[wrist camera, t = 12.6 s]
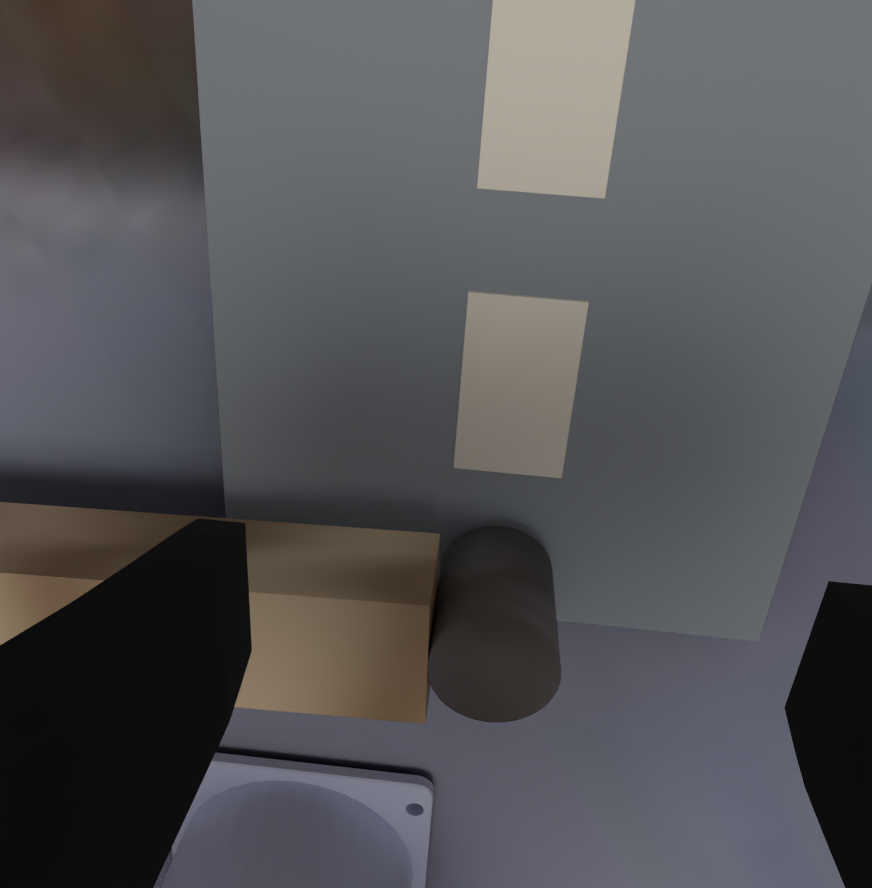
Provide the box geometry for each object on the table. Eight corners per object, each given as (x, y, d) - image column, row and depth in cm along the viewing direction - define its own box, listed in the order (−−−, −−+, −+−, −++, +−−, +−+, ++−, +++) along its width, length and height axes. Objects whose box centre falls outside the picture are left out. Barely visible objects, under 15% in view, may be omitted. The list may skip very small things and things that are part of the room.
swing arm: (558, 522, 18) (568, 616, 15) (546, 629, 19) (553, 734, 16) (-110, 475, 19) (-226, 554, 16) (-77, 579, 20) (-178, 671, 17)
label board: (749, 620, 20) (759, 644, 19) (239, 568, 20) (229, 589, 20) (967, -95, 13) (996, -105, 12) (199, -143, 14) (180, -155, 13)
